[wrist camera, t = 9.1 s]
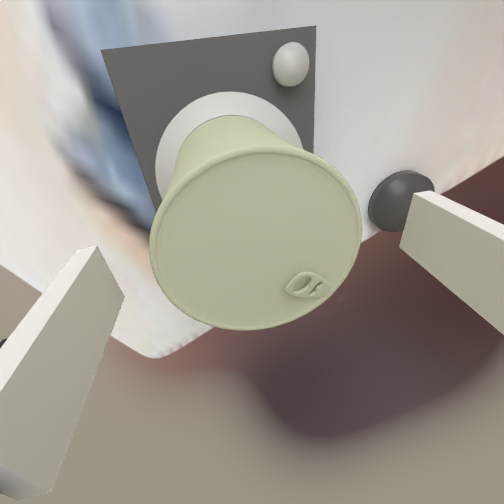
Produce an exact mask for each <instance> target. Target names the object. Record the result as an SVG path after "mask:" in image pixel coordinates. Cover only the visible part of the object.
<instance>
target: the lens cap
mask: <svg viewBox="0 0 504 504" xmlns="http://www.w3.org/2000/svg"><path fill="white" fill-rule="evenodd" d="M430 190H431V191H433V192H435V190H434V186H433V183H432V181H431V180H430V179H429V178H427V177H425V176H423V175H421V174H419V173H417V172H414V171H410V170H404V171H400V172H396V173H394V174H392V175H390V176H389V177H387V178H386V179H385V180H383V181H382V182H381V183H380V184H379V185H378V187H377V188H376V189H375V191H374V192H373V194H372V196H371V198H370V201H369V206H368V212H369V217H370V219H371V220H372V222H373V223H375V224H376V225H377V226H378V227H379V228H380V229H382V230H384V231H387V232H397V231H402V230H404V227H405V224H406V220H407V216H408V213H409V209H410V205H411V201H412V198H413V194H414V193H418V192H424V191H430Z"/></svg>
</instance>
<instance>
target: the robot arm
mask: <svg viewBox="0 0 504 504" xmlns="http://www.w3.org/2000/svg"><path fill="white" fill-rule="evenodd" d="M399 247H400V248H401V249H402V250H403V251H405V252H406V253H407V254H408V255H409V256H410V257H412V258H413V259H414V260H415V261H416V262H418V263H419V264H420V265H421V266H422V267H424V268H425V269H426V270H427V271H428V272H429V273H431V274H432V275H433V276H434V277H435V278H437V279H438V280H439V281H440V282H442V283H443V284H444V285H445V286H446V287H447V288H449V289H450V290H451V291H452V292H454V294H456V295H457V296H458V297H459V298H460V299H462V300H463V301H464V302H465V303H467V304H468V305H469V306H470V307H471V308H473V309H474V310H475V311H476V312H477V313H478V314H479V315H481V316H482V317H483V318H484V319H485V320H487V321H488V322H489V323H490V324H492V325H493V326H494V327H495V328H496V329H498V330H499V331H500V332H501V333H502V334H503V335H504V225H503V224H501V223H499V222H496V221H494V220H492V219H490V218H488V217H486V216H484V215H482V214H479V213H477V212H475V211H473V210H471V209H469V208H467V207H465V206H463V205H460V204H458V203H456V202H454V201H452V200H450V199H447V198H446V197H443V196H441V195H439V194H437V193H435V192H433V191H431V190H430V191H424V192H418V193H414V194H413V198H412V201H411V205H410V209H409V213H408V216H407V220H406V224H405V227H404V231H403V235H402V239H401V242H400V246H399ZM123 300H124V295H123V293H122V291H121V289H120V287H119V286H118V284H117V282H116V280H115V278H114V276H113V274H112V273H111V271H110V269H109V267H108V265H107V263H106V261H105V260H104V258H103V256H102V254H101V252H100V250H99V248H98V247H97V246H94V247H88V248H82V249H77V250H76V251H75V252H74V254H73V255H72V256H71V258H70V259H69V260H68V262H67V263H66V264H65V265H64V267H63V268H62V269H61V271H60V272H59V273H58V274H57V276H56V277H55V278H54V280H53V281H52V282H51V284H50V285H49V286H48V287H47V289H46V290H45V291H44V293H43V294H42V295H41V297H40V298H39V299H38V300H37V302H36V303H35V304H34V306H33V307H32V308H31V309H30V311H29V312H28V313H27V315H26V316H25V317H24V318H23V320H22V321H21V322H20V324H19V325H18V326H17V328H16V329H15V330H14V332H13V333H12V334H11V335H10V337H9V338H7V339H4V340H2V341H1V342H0V493H1V494H4V495H6V496H8V497H10V498H13V499H15V500H20V499H25V498H29V497H34V496H38V495H42V494H46V493H51V491H52V489H53V486H54V483H55V481H56V478H57V475H58V473H59V470H60V467H61V465H62V462H63V459H64V457H65V454H66V451H67V449H68V446H69V444H70V441H71V438H72V435H73V433H74V430H75V427H76V425H77V422H78V420H79V417H80V414H81V411H82V409H83V406H84V404H85V401H86V398H87V396H88V393H89V390H90V387H91V385H92V382H93V380H94V377H95V374H96V372H97V369H98V366H99V364H100V361H101V358H102V356H103V353H104V350H105V348H106V345H107V342H108V340H109V337H110V334H111V332H112V329H113V326H114V324H115V321H116V319H117V316H118V313H119V311H120V308H121V305H122V303H123Z"/></svg>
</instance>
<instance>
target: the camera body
mask: <svg viewBox="0 0 504 504" xmlns="http://www.w3.org/2000/svg"><path fill="white" fill-rule="evenodd" d="M315 52H316V26H309V27H300V28H291V29H282V30H274V31H265V32H256V33H247V34H238V35H229V36H221V37H212V38H203V39H194V40H185V41H176V42H168V43H159V44H150V45H141V46H132V47H123V48H115V49H106V50H101V53H102V56H103V59H104V62H105V65H106V68H107V71H108V74H109V77H110V79H111V82H112V85H113V88H114V91H115V94H116V97H117V100H118V103H119V106H120V109H121V111H122V114H123V117H124V120H125V123H126V126H127V129H128V132H129V135H130V138H131V141H132V143H133V146H134V149H135V152H136V155H137V158H138V161H139V164H140V167H141V170H142V173H143V175H144V178H145V181H146V184H147V187H148V190H149V193H150V196H151V199H152V202H153V205H154V207H155V210H156V213H157V211H158V208H159V206H160V205H161V203H162V201H163V199H164V198H165V196H166V194H167V191H168V189H169V186H170V183H171V180H172V178H173V175H174V170H175V163H176V158H177V155H178V152H179V150H180V148H181V146H182V144H183V143H184V141H185V140H186V138H187V137H188V136H189V135H190V134H191V133H192V132H193V131H194V130H195V129H196V128H197V127H199V126H200V125H202V124H203V123H205V122H207V121H210V120H212V119H215V118H218V117H223V116H243V117H247V118H251V119H254V120H256V121H258V122H260V123H262V124H263V125H265V126H266V127H268V128H269V129H270V130H271V131H272V132H273V133H274V134H275V135H276V136H278V137H279V138H281V139H283V140H285V141H286V142H288V143H290V144H292V145H293V146H295V147H297V148H299V149H302V150H305V151H307V152H310V153H312V154H313V137H314V94H315Z"/></svg>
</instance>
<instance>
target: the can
mask: <svg viewBox="0 0 504 504" xmlns="http://www.w3.org/2000/svg"><path fill="white" fill-rule="evenodd" d="M361 235H362V219H361V213H360V208H359V205H358V202H357V199H356V197H355V194H354V192H353V190H352V189H351V187H350V185H349V184H348V182H347V181H346V180H345V178H344V177H343V176H342V175H341V174H340V173H339V172H338V171H337V170H336V169H335V168H334V167H333V166H332V165H330V164H329V163H328V162H326V161H325V160H323V159H322V158H320V157H318V156H316V155H314V154H312V153H310V152H307V151H305V150H302V149H299V148H297V147H295V146H293V145H292V144H290V143H288V142H286V141H285V140H283V139H281V138H279V137H278V136H276V135H275V134H274V133H273V132H272V131H271V130H270V129H269V128H268V127H266V126H265V125H263V124H262V123H260V122H258V121H256V120H254V119H251V118H247V117H243V116H223V117H218V118H215V119H212V120H210V121H207V122H205V123H203V124H202V125H200V126H199V127H197V128H196V129H195V130H194V131H193V132H192V133H191V134H190V135H189V136H188V137H187V138H186V140H185V141H184V143H183V144H182V146H181V148H180V150H179V152H178V155H177V158H176V163H175V170H174V175H173V178H172V180H171V183H170V186H169V189H168V191H167V194H166V196H165V198H164V199H163V201H162V203H161V205H160V206H159V208H158V211H157V213H156V215H155V218H154V221H153V224H152V228H151V233H150V241H149V254H150V262H151V266H152V270H153V273H154V276H155V278H156V281H157V283H158V285H159V286H160V288H161V290H162V291H163V293H164V294H165V295H166V296H167V298H168V299H169V300H170V301H171V302H172V303H173V304H174V305H175V306H176V307H177V308H178V309H180V310H181V311H182V312H184V313H185V314H187V315H188V316H190V317H192V318H193V319H195V320H197V321H200V322H202V323H204V324H207V325H210V326H214V327H218V328H222V329H229V330H240V331H247V330H260V329H266V328H271V327H276V326H279V325H282V324H285V323H288V322H291V321H293V320H295V319H297V318H300V317H302V316H304V315H305V314H307V313H309V312H311V311H312V310H314V309H315V308H316V307H318V306H319V305H321V304H322V303H323V302H324V301H326V300H327V299H328V298H329V297H330V296H331V295H332V294H333V293H334V292H335V291H336V290H337V289H338V287H339V286H340V285H341V284H342V282H343V281H344V280H345V278H346V277H347V275H348V273H349V272H350V270H351V268H352V266H353V264H354V262H355V260H356V257H357V254H358V251H359V247H360V243H361Z"/></svg>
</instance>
